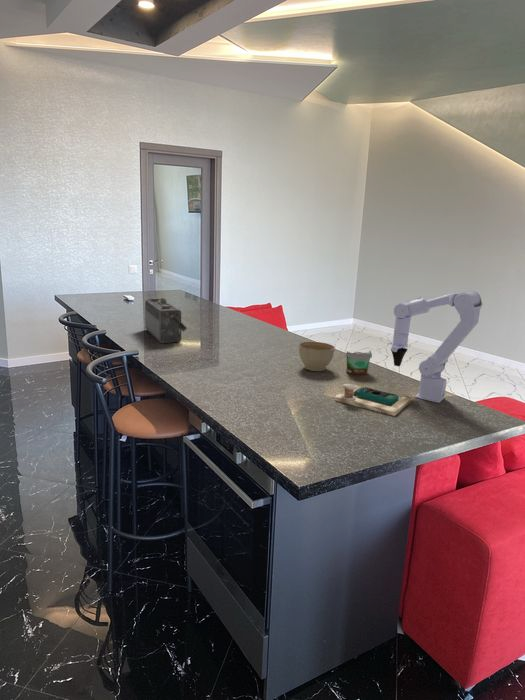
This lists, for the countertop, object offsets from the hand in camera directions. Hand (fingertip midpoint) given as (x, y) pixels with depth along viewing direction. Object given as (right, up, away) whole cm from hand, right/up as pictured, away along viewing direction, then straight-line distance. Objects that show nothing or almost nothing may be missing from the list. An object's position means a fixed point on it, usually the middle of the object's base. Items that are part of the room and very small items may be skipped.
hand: (397, 365), depth 196 cm
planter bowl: (-31, -2, +24) cm, 39 cm away
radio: (-109, +14, +72) cm, 132 cm away
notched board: (-13, -13, -15) cm, 24 cm away
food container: (-12, -5, +18) cm, 22 cm away
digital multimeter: (-11, -13, -11) cm, 20 cm away
